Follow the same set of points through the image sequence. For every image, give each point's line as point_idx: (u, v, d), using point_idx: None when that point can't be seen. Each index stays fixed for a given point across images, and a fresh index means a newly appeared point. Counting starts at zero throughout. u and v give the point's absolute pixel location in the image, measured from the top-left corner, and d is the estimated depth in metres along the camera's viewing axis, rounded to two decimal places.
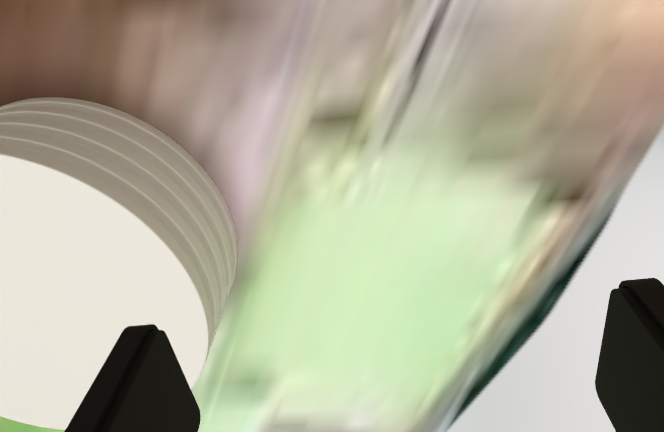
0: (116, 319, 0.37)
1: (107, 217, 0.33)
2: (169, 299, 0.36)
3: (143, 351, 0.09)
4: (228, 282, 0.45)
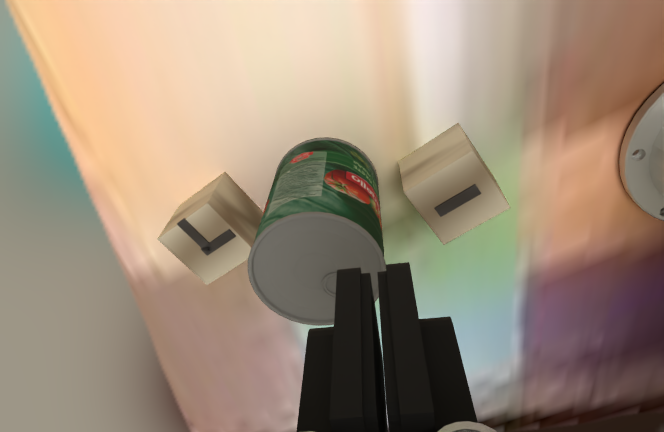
0: None
1: None
2: None
3: (365, 289, 0.10)
4: None
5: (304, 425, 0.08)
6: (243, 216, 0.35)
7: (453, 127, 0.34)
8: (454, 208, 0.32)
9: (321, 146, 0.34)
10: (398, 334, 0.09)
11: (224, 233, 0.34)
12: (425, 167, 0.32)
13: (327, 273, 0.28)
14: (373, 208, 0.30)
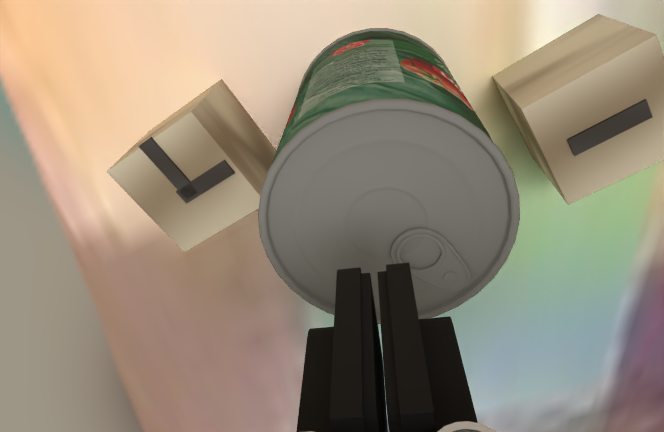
0: None
1: None
2: None
3: (365, 289, 0.10)
4: None
5: (304, 425, 0.08)
6: (246, 146, 0.22)
7: (590, 20, 0.21)
8: (601, 142, 0.19)
9: (381, 36, 0.21)
10: (398, 334, 0.09)
11: (216, 167, 0.21)
12: (556, 73, 0.19)
13: (404, 228, 0.15)
14: None
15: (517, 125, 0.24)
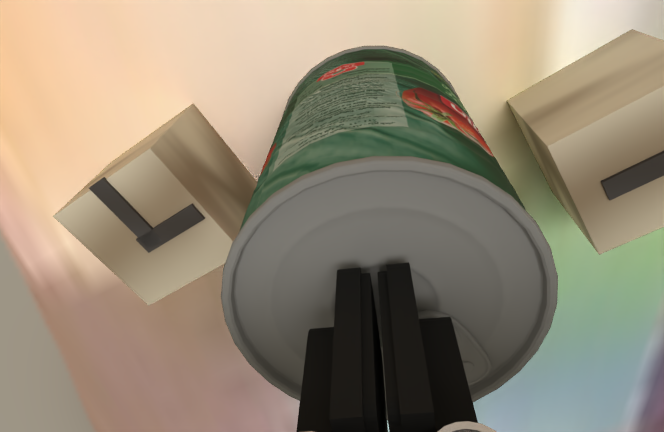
0: None
1: None
2: None
3: (365, 289, 0.10)
4: None
5: (304, 425, 0.08)
6: (221, 183, 0.19)
7: (623, 37, 0.18)
8: (642, 184, 0.16)
9: (378, 56, 0.18)
10: (398, 334, 0.09)
11: (182, 212, 0.17)
12: (587, 101, 0.16)
13: None
14: None
15: (535, 156, 0.21)
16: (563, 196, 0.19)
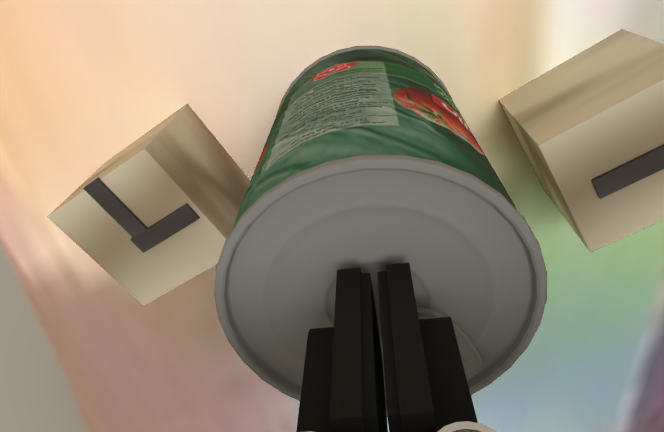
0: None
1: None
2: None
3: (365, 289, 0.10)
4: None
5: (304, 425, 0.08)
6: (215, 183, 0.19)
7: (613, 36, 0.18)
8: (632, 183, 0.16)
9: (370, 56, 0.18)
10: (398, 334, 0.09)
11: (177, 211, 0.17)
12: (577, 101, 0.16)
13: None
14: None
15: (527, 155, 0.21)
16: (555, 195, 0.19)
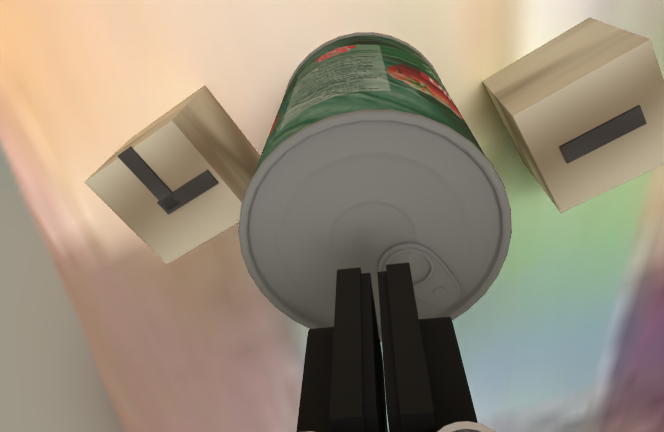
0: None
1: None
2: None
3: (365, 289, 0.10)
4: None
5: (304, 425, 0.08)
6: (230, 155, 0.22)
7: (582, 24, 0.21)
8: (594, 149, 0.19)
9: (368, 41, 0.20)
10: (398, 334, 0.09)
11: (198, 177, 0.20)
12: (547, 78, 0.19)
13: (392, 243, 0.14)
14: None
15: (508, 131, 0.23)
16: (531, 164, 0.21)
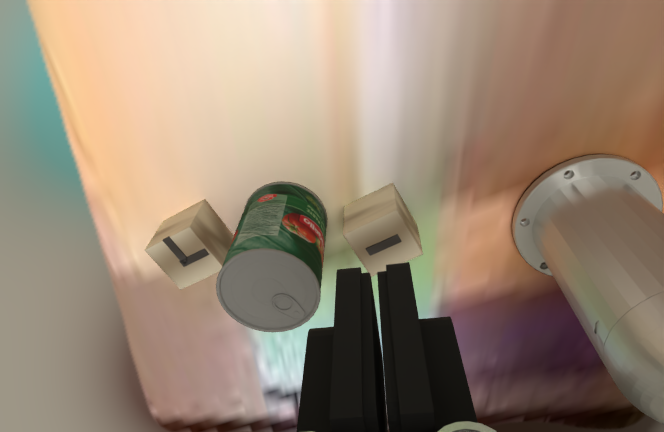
0: None
1: None
2: None
3: (365, 289, 0.10)
4: None
5: (304, 425, 0.08)
6: (216, 237, 0.44)
7: (388, 185, 0.43)
8: (381, 250, 0.41)
9: (284, 190, 0.42)
10: (398, 334, 0.09)
11: (200, 251, 0.42)
12: (362, 217, 0.41)
13: (276, 293, 0.37)
14: (317, 246, 0.39)
15: None
16: None
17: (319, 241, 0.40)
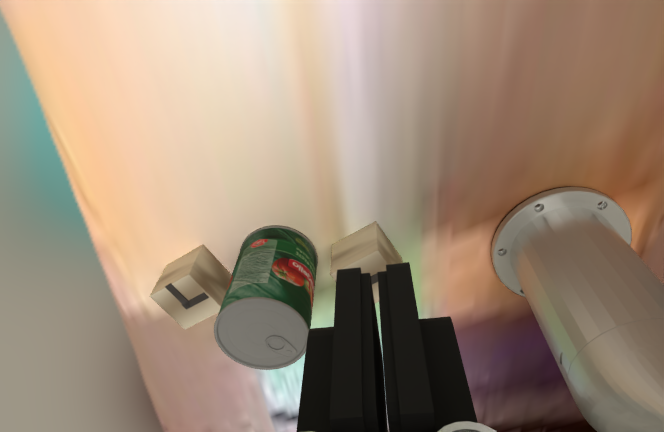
0: None
1: None
2: None
3: (365, 289, 0.10)
4: None
5: (304, 425, 0.08)
6: (214, 280, 0.47)
7: (371, 224, 0.46)
8: None
9: (274, 234, 0.46)
10: (398, 334, 0.09)
11: (200, 295, 0.46)
12: (347, 256, 0.44)
13: (269, 335, 0.40)
14: (306, 288, 0.42)
15: None
16: None
17: (308, 282, 0.43)
